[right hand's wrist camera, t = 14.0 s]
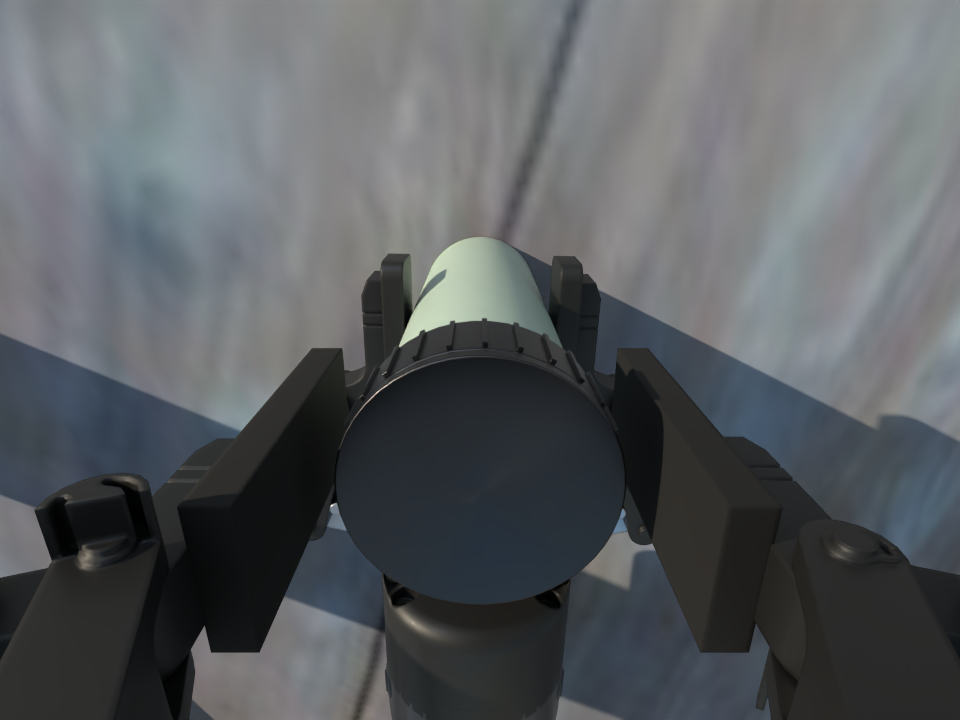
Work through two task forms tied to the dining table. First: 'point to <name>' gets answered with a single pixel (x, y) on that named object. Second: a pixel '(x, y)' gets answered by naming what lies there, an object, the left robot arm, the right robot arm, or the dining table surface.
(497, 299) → the jar
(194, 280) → the dining table surface
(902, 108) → the dining table surface
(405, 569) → the lid
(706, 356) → the dining table surface
